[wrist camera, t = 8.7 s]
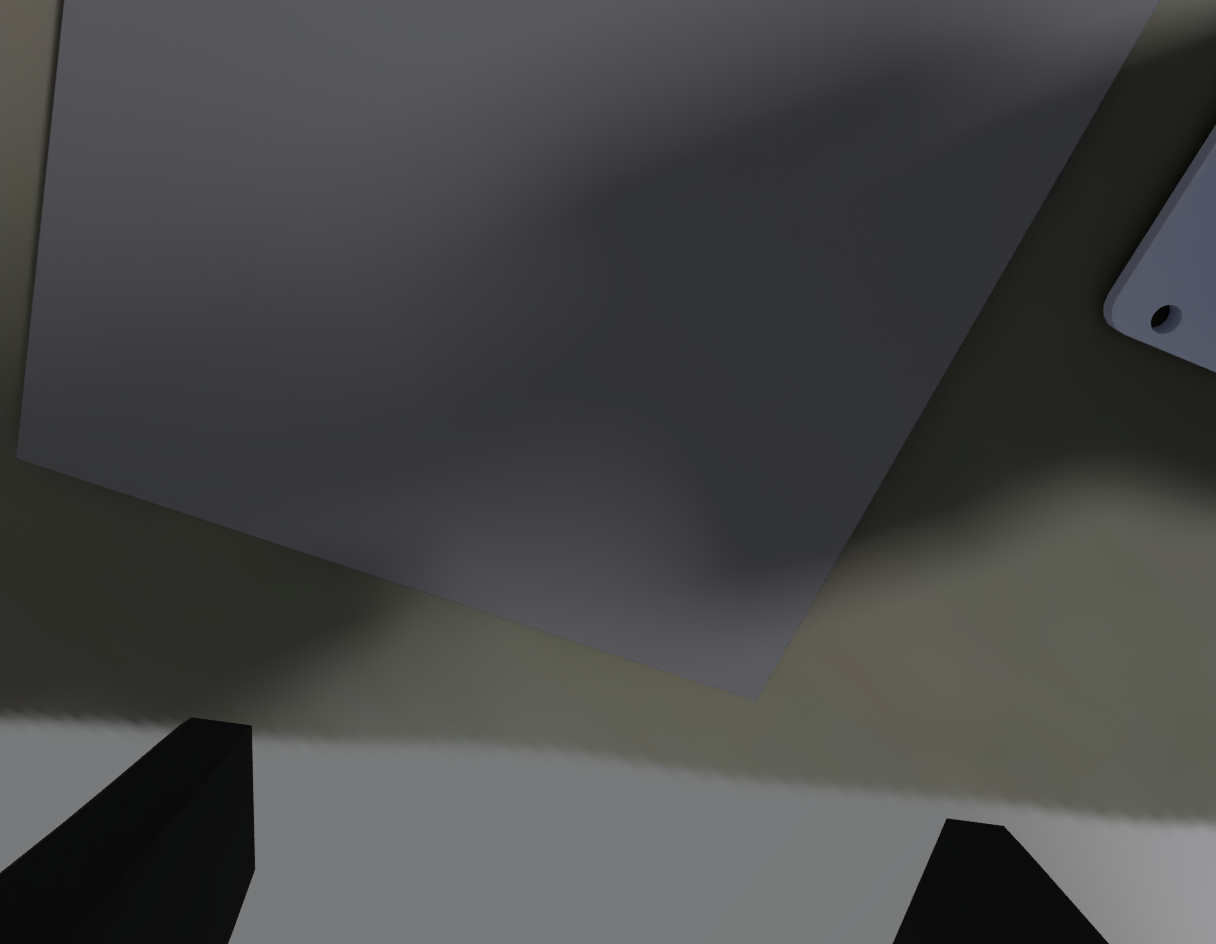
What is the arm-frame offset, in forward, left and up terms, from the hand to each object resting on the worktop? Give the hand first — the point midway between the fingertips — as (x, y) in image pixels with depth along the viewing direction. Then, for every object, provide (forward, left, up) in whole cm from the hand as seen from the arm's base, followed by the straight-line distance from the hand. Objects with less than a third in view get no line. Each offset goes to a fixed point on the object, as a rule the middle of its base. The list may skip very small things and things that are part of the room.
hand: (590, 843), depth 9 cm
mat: (+3, -4, -9) cm, 11 cm away
